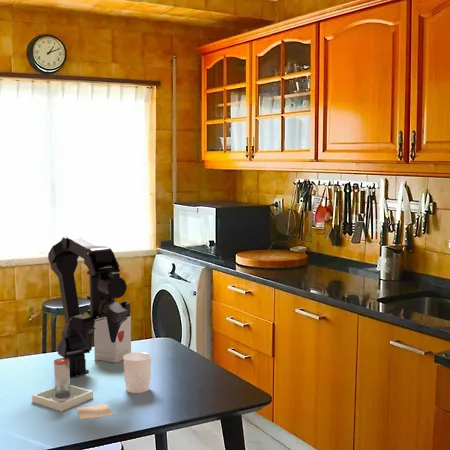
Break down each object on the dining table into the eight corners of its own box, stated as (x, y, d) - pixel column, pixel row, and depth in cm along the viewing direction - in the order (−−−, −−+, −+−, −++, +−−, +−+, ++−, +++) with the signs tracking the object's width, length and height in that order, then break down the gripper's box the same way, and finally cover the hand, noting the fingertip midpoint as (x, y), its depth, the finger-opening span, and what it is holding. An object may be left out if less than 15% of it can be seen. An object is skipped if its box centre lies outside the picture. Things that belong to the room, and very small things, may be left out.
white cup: (129, 397, 182) (128, 362, 181) (120, 388, 189) (119, 354, 188) (155, 392, 186) (155, 358, 185) (145, 383, 193) (145, 350, 192)
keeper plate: (76, 410, 173) (76, 408, 173) (106, 405, 176) (106, 403, 176) (81, 421, 166) (81, 419, 166) (112, 416, 169) (112, 414, 169)
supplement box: (116, 363, 211) (115, 318, 210) (93, 359, 215) (92, 315, 214) (132, 355, 220) (131, 312, 218) (110, 352, 223) (109, 309, 222)
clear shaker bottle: (48, 399, 179) (47, 360, 178) (67, 394, 183) (66, 355, 182) (58, 405, 175) (56, 364, 174) (77, 399, 179) (75, 360, 178)
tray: (32, 403, 177) (32, 395, 177) (64, 391, 187) (64, 383, 187) (61, 412, 171) (61, 404, 171) (93, 399, 180) (93, 391, 180)
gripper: (96, 301, 172) (98, 359, 174) (144, 289, 187) (145, 343, 189) (67, 296, 178) (69, 352, 180) (115, 285, 193) (116, 337, 195)
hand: (101, 346), depth 186 cm, fingers open, 9 cm apart
